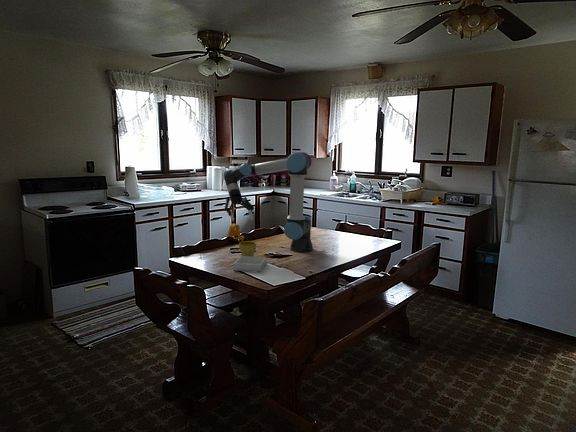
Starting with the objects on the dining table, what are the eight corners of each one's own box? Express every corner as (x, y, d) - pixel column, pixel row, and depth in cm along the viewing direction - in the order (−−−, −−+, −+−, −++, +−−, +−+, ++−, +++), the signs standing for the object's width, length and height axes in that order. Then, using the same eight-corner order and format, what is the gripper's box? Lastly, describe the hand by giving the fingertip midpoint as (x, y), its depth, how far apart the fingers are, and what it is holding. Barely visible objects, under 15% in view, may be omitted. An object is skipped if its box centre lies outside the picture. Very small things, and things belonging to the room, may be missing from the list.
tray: (266, 264, 237) (266, 257, 236) (260, 272, 222) (260, 265, 221) (240, 262, 239) (240, 255, 239) (233, 270, 224) (233, 263, 223)
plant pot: (249, 261, 241) (249, 245, 239) (235, 258, 246) (235, 243, 245) (259, 257, 250) (259, 242, 248) (246, 255, 255) (246, 240, 253)
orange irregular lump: (232, 242, 287) (232, 226, 285) (226, 240, 292) (226, 224, 290) (244, 240, 293) (244, 224, 291) (239, 238, 299) (239, 222, 297)
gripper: (248, 194, 271) (257, 222, 262) (214, 194, 257) (222, 223, 248) (253, 188, 265) (262, 216, 257) (218, 188, 252) (226, 217, 243)
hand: (242, 219), depth 252 cm, fingers open, 13 cm apart
